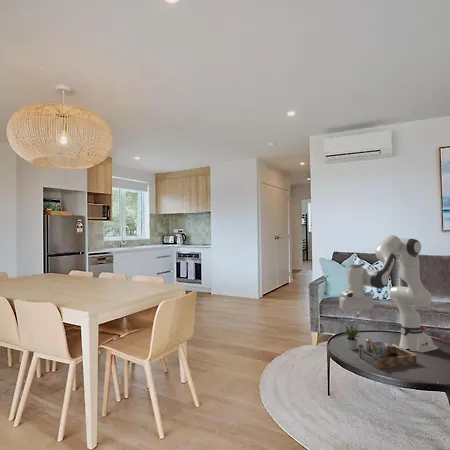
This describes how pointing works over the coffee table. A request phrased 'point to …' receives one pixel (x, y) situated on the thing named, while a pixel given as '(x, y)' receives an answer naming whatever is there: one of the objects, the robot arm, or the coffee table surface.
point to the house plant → (352, 337)
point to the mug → (380, 348)
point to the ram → (366, 356)
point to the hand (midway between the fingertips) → (356, 316)
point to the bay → (401, 360)
